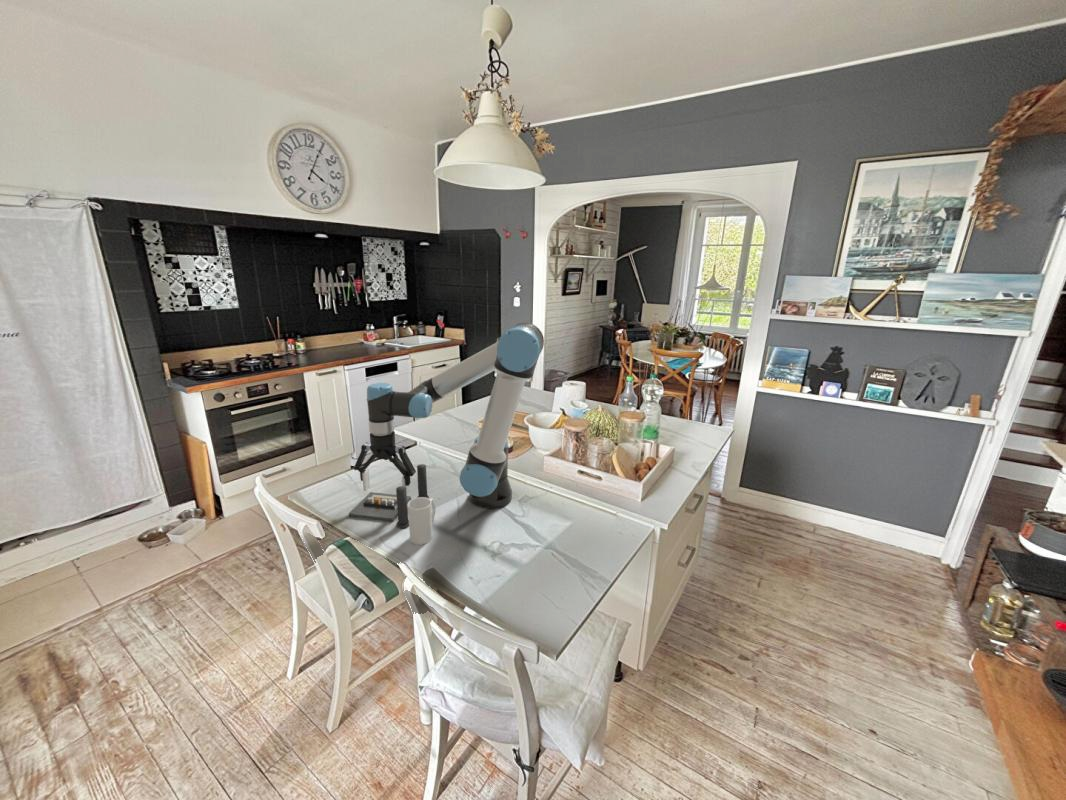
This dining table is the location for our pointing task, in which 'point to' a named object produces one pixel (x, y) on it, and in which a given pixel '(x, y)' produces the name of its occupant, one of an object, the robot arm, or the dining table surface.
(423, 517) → the mug
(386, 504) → the breaker panel
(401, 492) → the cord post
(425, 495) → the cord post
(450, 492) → the dining table surface
